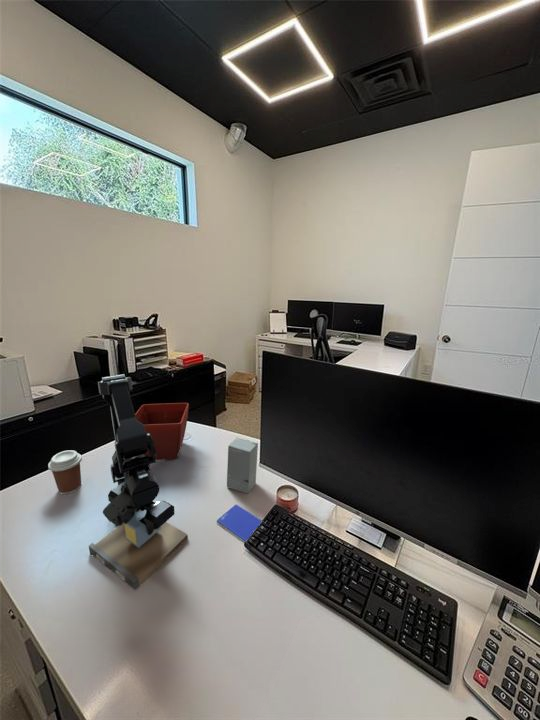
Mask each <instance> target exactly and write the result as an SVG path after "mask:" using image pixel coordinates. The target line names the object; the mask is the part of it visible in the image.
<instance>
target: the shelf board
mask: <svg viewBox="0 0 540 720" xmlns="http://www.w3.org/2000/svg"><path fill="white" fill-rule="evenodd" d="M188 539H189V536H188V533H186V532H184V531H182V530H181V529H179V528H178V527H176V526H174V525H173V524H171V523H169V522H168V521H166V522H165V523H164V524H163V525H162V526H161V529H160V530H159V531H158V532H156V533H155V534H154V535H153V536H152V537H151V538H150V539H148V540H147V541H146V542H145V543H144V544H143V545H141V546H140V547H139V548H138V547H137V546H135V545H134V544H132V543H131V542H130V541H128V540H127V539H126V535H125V528H124V523H123V524H122V525H121V526H117V527H116V528H115V529H114V530H112V531H111V532H110V533H108V534H107V535H106V536H105V537H103V538H102V539H100V540H99V541H98V542H96V543H94V542H92V543H90V544H89V545H88V550H89V555H91V556H92V555H93V556H92V557H94V558H95V559H96V560H97V561H98V560H99V561H98V562H99V563H101V564H102V565H104V566H105V567H106V568H107V569H108V570H109V571H111V572H112V573H113V574H114V573H115V574H114V575H115V576H116V577H118V578H119V579H120V580H122V581H123V582H124V583H125V584H127V586H129V587H131V588H132V589H133V590H134V591H137V590H138V589H139V588H140V587H141V586H142V585H143V584H144V583H145V582H146V581H147V580H148V579H149V578H151V576H152V575H153V574H154V573H155V572H156V571H157V570H158V569H159V568H160V567H161V566H162V565H163V564H164V563H165V562H167V560H168V559H169V558H170V557H171V556H172V555H174V553H176V551H178V549H179V548H180V547H181V546H183V544H184V543H186V541H187V540H188Z"/></svg>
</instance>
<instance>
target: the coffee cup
mask: <svg viewBox="0 0 540 720" xmlns="http://www.w3.org/2000/svg"><path fill="white" fill-rule="evenodd" d="M82 457H83V456H82V455H81V454H80V453H78V452H77V451H76V450H72V449H71V450H63V451H60V452H58V453H56V454H55V455H53V456H52V457H51V459H50V461H49V462H48V464H47V469H48V470H49V471H50V472H52V474H53V479H54V481H55V484H56V485H55V486H56V487H57V490H58V493H59V492H60V493H62V494H61V495H69V494H68V493H70V494H72V492H73V493H75V492H77V491H79V489H80V488H81V487H82V486H83V485H82V484H81V483H82V475H81V474H82V473H81V462H82V460H83V458H82ZM76 490H77V491H76ZM74 491H75V492H74ZM60 493H59V494H60Z"/></svg>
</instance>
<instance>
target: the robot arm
mask: <svg viewBox="0 0 540 720" xmlns="http://www.w3.org/2000/svg"><path fill="white" fill-rule="evenodd" d="M97 386H98V393H99V394H100V395H101V396H102V399H103V400H104V402H105V403H107V405H109V407H110V415H111V421H112V428H113V435H114V448H115V451H114V453H113V455H112V457H111V459H112V460H111V461H112V464H111V465H110V473H111V478H112V482H113V484H116V483H117V486H115V487H113V488H112V489H111V490H110V491H109V492H108V494H107V498H108V502H109V503H108V504H107V505H106V506H105V508H103V510H102V514H103V515H104V517H105V518H106V519H107V520H108V521H109V522H110V523H112V524H113V525H115V526H116V527H119V526H121V525H122V524H123V523H124V524H127V523H128V522H129V521H130V520H131V519H132V518H133V516H134V515H135V511H136V512H137V511H139V510H140V511H142V512H143V511H144V510H147V511H146V514H145V516H144V517H143V518H142V519H141V520H139V521H140V522H141V523H143V524H145V526H146V530H147V533H148V535H151V534H152V533H153V531H154V529H158V528H159V527H160V526H162V525H163V524H164V523H165V522H168V521H169V520H170V519H171V518H172V517H174V516H175V506H174V505H172V504H170V503H169V502H167V501H165V500H160V501H155V499H156V498H157V497H158V495H159V494H160V486H159V483H158V482H157V479H156V477H155V475H154V473H153V470H151V468H150V465H152V464H155V463H156V462H157V460H156V459H155V456H156V455H157V453H156V449H155V445H154V442H153V438H152V437H151V435H150V434H149V433H147V432H146V430H145V427H144V425H143V424H142V423H140V422H139V421H137V419H136V415H135V414H136V412H135V410H134V405H133V403H132V398H131V392H130V391H132V390H133V384H132V377H130V376H128V377H126V375H125V373H123V374H117V375H116V374H115V375H110V376H109V375H108V376H104V377H103V376H102V377H101V380H100V381H97ZM148 448H149V451H150V455H151V457H150V455H148V456H145V455H144V454H145V453H147V452H148Z"/></svg>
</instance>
